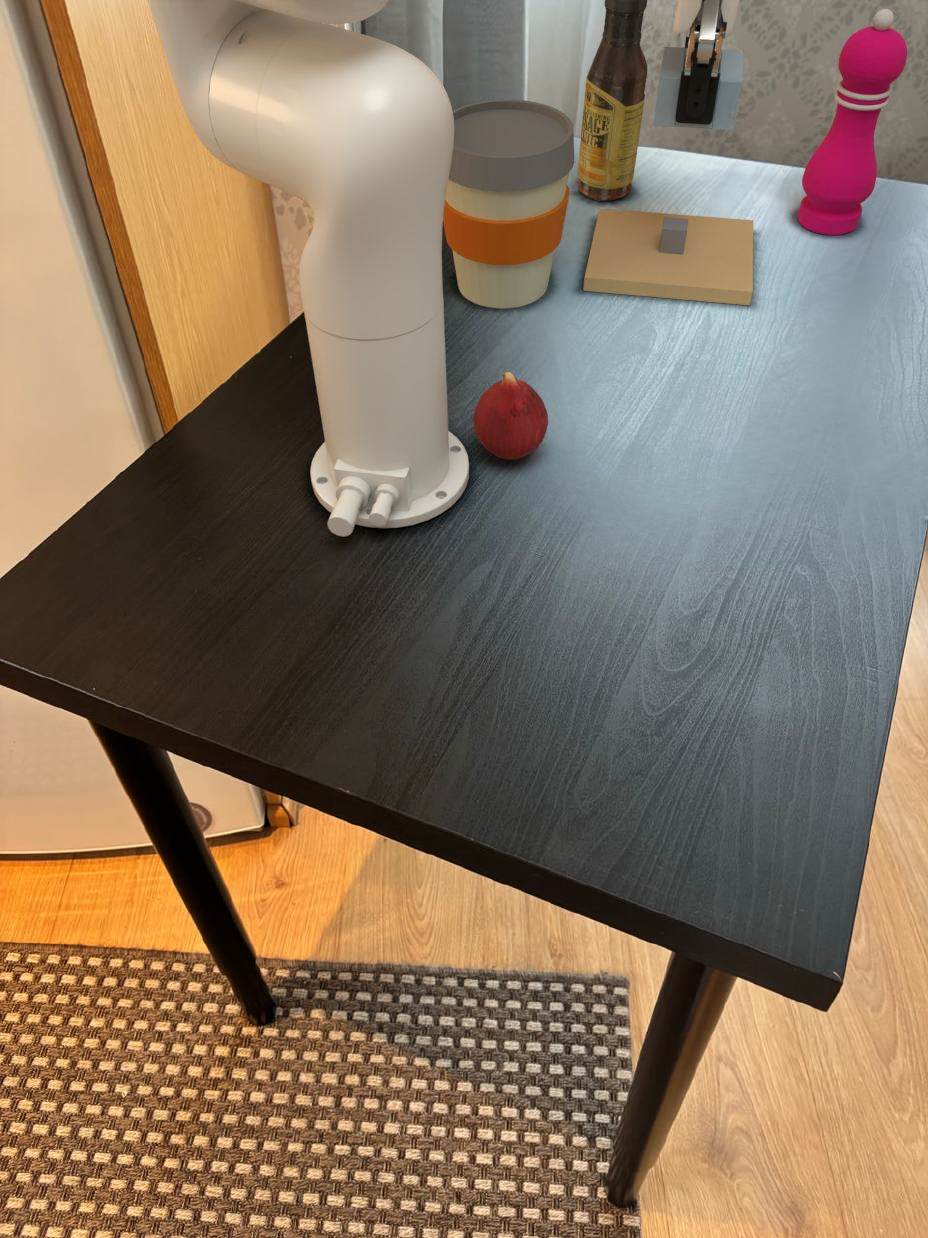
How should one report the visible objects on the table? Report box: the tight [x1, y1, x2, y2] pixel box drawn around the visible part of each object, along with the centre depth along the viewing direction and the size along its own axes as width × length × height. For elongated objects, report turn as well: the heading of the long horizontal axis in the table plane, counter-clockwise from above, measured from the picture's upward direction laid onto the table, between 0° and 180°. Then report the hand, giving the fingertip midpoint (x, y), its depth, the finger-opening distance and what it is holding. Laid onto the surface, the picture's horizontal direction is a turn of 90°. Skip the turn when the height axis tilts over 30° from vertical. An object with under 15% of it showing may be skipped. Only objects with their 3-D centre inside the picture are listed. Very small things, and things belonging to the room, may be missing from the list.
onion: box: [472, 371, 549, 461], centre depth 76 cm, size 6×6×8 cm
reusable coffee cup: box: [443, 99, 576, 309], centre depth 90 cm, size 13×13×15 cm
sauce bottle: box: [577, 0, 648, 202], centre depth 101 cm, size 6×6×20 cm
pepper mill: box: [797, 8, 908, 236], centre depth 95 cm, size 7×7×20 cm
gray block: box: [652, 46, 745, 131], centre depth 86 cm, size 7×7×4 cm
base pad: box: [582, 208, 754, 306], centre depth 97 cm, size 14×16×4 cm
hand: (695, 101), depth 87 cm, fingers closed on gray block, 7 cm apart
